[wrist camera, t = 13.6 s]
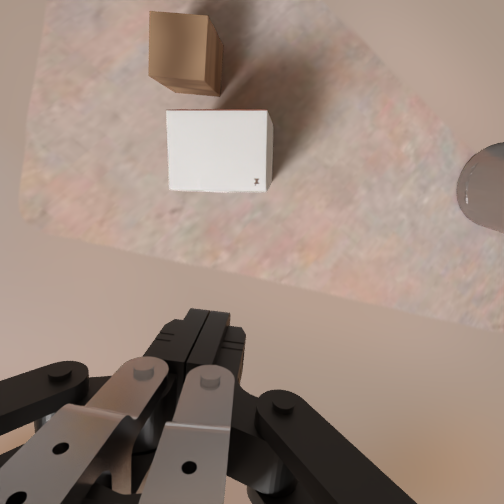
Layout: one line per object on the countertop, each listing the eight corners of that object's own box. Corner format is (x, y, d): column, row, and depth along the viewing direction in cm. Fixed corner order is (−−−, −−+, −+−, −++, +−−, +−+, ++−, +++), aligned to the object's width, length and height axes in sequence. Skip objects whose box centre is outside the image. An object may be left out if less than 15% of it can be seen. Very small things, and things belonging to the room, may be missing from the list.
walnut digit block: (223, 42, 37) (208, 11, 29) (220, 96, 38) (204, 80, 30) (177, 39, 37) (149, 7, 29) (175, 92, 38) (148, 75, 31)
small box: (274, 124, 38) (270, 108, 26) (272, 183, 40) (268, 194, 28) (201, 124, 39) (163, 108, 26) (203, 182, 41) (168, 192, 28)
